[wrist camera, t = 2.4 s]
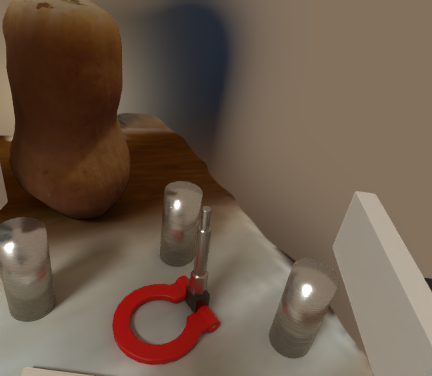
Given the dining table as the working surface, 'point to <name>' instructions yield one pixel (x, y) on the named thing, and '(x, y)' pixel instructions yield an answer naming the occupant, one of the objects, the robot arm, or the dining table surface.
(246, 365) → the dining table surface
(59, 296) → the dining table surface
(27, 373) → the mat
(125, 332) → the tow hook
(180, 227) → the spacers
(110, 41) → the butternut squash
